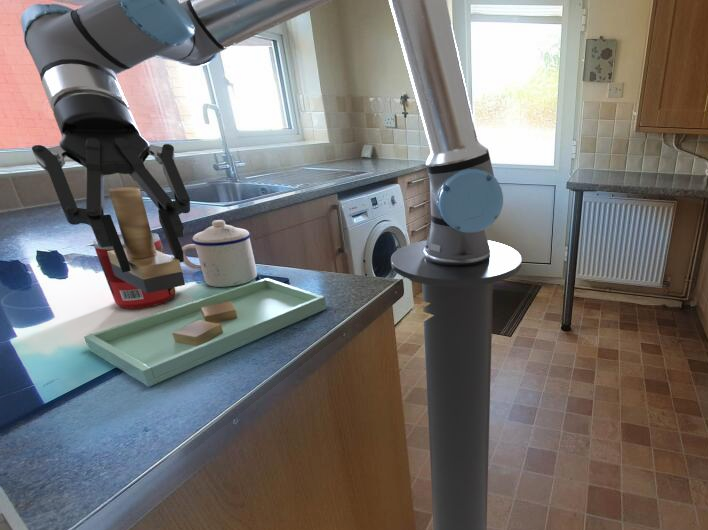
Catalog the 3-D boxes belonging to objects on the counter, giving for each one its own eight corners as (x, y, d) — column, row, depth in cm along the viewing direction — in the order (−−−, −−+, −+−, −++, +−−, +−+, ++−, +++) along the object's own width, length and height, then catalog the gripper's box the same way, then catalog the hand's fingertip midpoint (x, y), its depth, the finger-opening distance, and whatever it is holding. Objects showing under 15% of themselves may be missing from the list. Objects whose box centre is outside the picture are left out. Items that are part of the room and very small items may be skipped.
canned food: (185, 297, 72) (167, 237, 67) (127, 314, 65) (103, 248, 61) (165, 287, 75) (146, 229, 71) (108, 302, 69) (84, 239, 65)
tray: (269, 289, 77) (266, 277, 76) (326, 308, 70) (325, 296, 69) (89, 350, 56) (83, 336, 55) (148, 387, 49) (142, 371, 48)
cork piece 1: (200, 328, 61) (198, 319, 60) (223, 332, 60) (221, 323, 59) (174, 342, 57) (171, 332, 56) (198, 346, 56) (195, 337, 56)
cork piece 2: (232, 309, 67) (230, 300, 66) (237, 318, 64) (235, 309, 64) (202, 315, 64) (200, 307, 64) (206, 325, 62) (204, 316, 61)
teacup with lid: (264, 269, 85) (252, 214, 81) (252, 286, 77) (238, 226, 73) (197, 273, 82) (181, 216, 78) (177, 291, 74) (158, 228, 70)
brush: (151, 268, 57) (128, 182, 53) (185, 284, 53) (163, 192, 49) (114, 275, 54) (86, 185, 50) (147, 293, 50) (119, 195, 45)
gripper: (177, 133, 63) (233, 261, 59) (1, 132, 51) (58, 293, 47) (175, 95, 58) (237, 233, 54) (-22, 84, 45) (40, 262, 42)
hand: (153, 261), depth 50 cm, fingers closed on brush, 5 cm apart
